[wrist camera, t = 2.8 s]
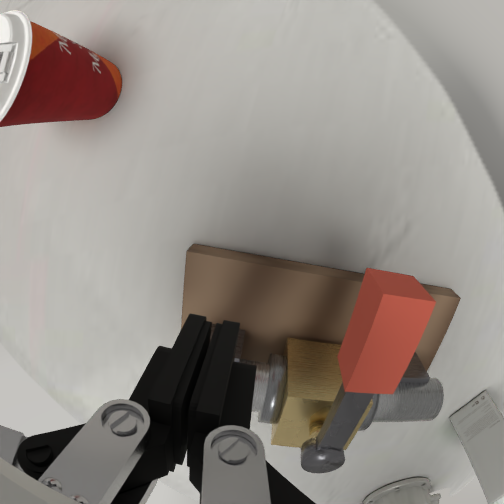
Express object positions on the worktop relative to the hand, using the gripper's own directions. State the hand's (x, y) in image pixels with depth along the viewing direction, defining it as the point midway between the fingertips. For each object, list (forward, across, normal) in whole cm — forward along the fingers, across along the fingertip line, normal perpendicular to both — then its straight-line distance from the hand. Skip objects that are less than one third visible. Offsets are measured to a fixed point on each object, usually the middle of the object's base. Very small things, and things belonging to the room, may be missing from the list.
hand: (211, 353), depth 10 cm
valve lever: (+5, -7, +5) cm, 10 cm away
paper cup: (+16, +16, -10) cm, 25 cm away
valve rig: (+16, -7, +9) cm, 20 cm away
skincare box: (+15, -34, +20) cm, 43 cm away
